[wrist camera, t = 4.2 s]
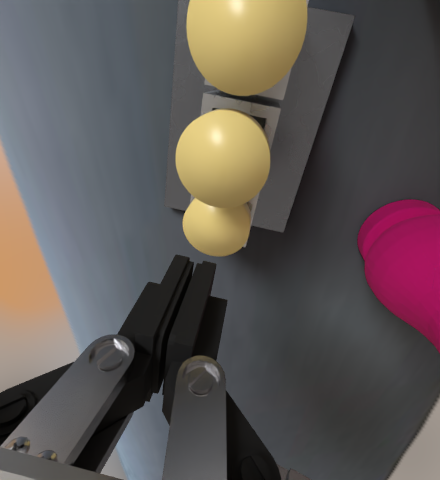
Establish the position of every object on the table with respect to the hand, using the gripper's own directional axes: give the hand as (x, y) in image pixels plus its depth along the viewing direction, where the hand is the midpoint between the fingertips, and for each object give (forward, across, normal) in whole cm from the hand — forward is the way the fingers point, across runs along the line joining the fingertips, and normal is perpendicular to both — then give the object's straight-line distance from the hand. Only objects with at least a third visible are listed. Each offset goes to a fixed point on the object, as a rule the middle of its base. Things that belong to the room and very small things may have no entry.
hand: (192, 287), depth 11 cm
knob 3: (+11, 0, 0) cm, 11 cm away
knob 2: (+9, 0, -4) cm, 10 cm away
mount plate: (+13, 0, -4) cm, 13 cm away
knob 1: (+9, 0, -9) cm, 12 cm away
